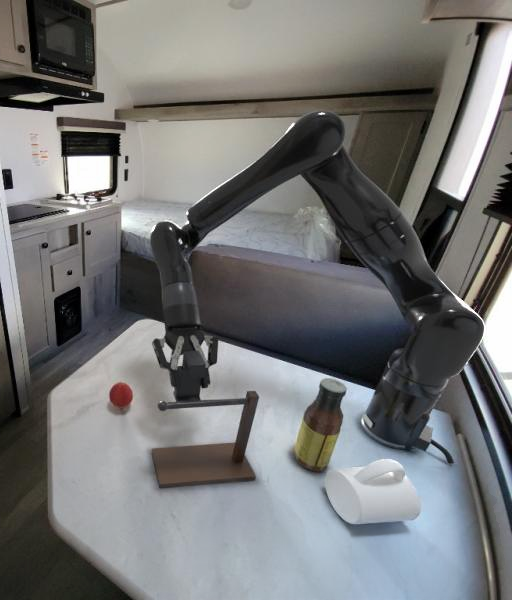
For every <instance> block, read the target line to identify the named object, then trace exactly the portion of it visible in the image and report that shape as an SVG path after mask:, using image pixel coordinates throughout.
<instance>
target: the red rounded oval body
mask: <svg viewBox="0 0 512 600" xmlns="http://www.w3.org/2000/svg"><path fill="white" fill-rule="evenodd" d="M108 395H109V396H108V397H109V398H108V399H109V401H110V402H111V404H112V405H113V406H115V407H116V408H119V409H122V408H126V407H128V406H130V405H131V403H132V401H133V399H134V393H133V389H132V388H131V386H130V385H129V384H127V383H126V382H124V381H123V380H122V381H119V382H116V383H114V385H112V387H111V388H110V390H109V394H108Z"/></svg>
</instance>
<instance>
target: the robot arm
mask: <svg viewBox="0 0 512 600" xmlns="http://www.w3.org/2000/svg"><path fill="white" fill-rule="evenodd" d="M346 132H347V130H346V124H345V122H344V120H343V119H342V118H341V116H340V115H339V114H337V113H335V112H333V111H331V110H323V109H322V110H315V111H311V112H307V113H306V114H304V115H302V116H300V117H299V118H297V119H296V120H295V121H294V122H292V124H291V125H290V126H289V127H288V129H287V130H286V132H285V134H283V135H282V136H281V137H280V138H279V139H278V140H277V141H276V142H275V143H274V144H273V145H272V146H271V147H270V148H269V149H268V150H267V151H266V152H264V153H263V154H262V155H261V156H260V157H259V158H257V159H256V160H255V161H253V162H252V163H251V164H250V165H249V166H247V167H246V168H244V169H243V170H241V171H240V172H238V173H237V174H235V175H234V176H232V177H230V179H228V180H226V181H225V182H223V183H222V184H220V185H219V186H217V187H216V188H214V189H213V190H211V191H210V192H209V193H208V194H206V195H205V196H203V197H202V198H200V199H199V200H198V201H197V202H195V203H194V204H193V205H191V206H190V207H189V208H188V210H187V212H186V219H187V222H186V223H185V224H184V225H183V226H182V227H181V226H179V225H178V224H176V223H175V222H173V221H170V220H160V221H159V222H158V223H156V224H155V225H154V226H153V228H152V230H151V231H150V236H149V237H150V238H149V240H150V241H149V243H150V249H151V252H152V255H153V258H154V261H155V264H156V267H157V269H158V271H159V280H160V286H161V308H162V315H163V321H164V322H163V324H164V331H165V333H164V335H163V337H160V338H157V337H156V338H154V339H153V340H152V341H151V345H152V346H151V347H152V348H153V352H154V354H155V357H156V360H157V363H158V366H159V368H160V369H164V370H167V371H168V373H169V382H170V386H171V388H173V390H174V391H175V390H180V382H179V374H178V370H177V366H178V365H179V360H180V358H181V356H183V353H184V351H199V352H200V354H201V356H202V358H203V360H204V362H205V363H206V368H205V375H204V378H202V382H201V389H208V388H209V385H211V376H210V369H209V368H210V367H212V366H214V365H216V364H217V363H218V354H219V353H218V352H219V339H220V338H219V336H218V335H213V336H212V335H206V334H205V332H204V330H203V329H202V322H201V321H202V320H201V315H200V309H199V303H198V302H199V301H198V295H197V292H196V289H195V285H194V284H195V283H194V278H193V271H192V268H191V265H190V263H189V262H188V261H187V260H186V259H185V256H188V255H189V254H190V253H192V252H193V251H194V249H196V248H197V247H198V246H199V245H200V243H201V242H203V241H204V239H205V238H206V237H207V236H208V235H209V234H210V233H212V232H213V231H215V230H216V229H218V228H219V227H220V226H222V225H223V224H225V223H227V222H228V221H230V220H231V219H232V218H233V217H235V216H237V215H238V214H240V212H242V211H244V210H245V209H246V208H247V207H249V206H250V205H252V204H253V203H254V202H256V201H257V200H259V199H260V198H262V197H263V196H264V195H266V194H268V193H270V192H271V191H273V190H274V189H276V188H277V187H279V186H281V185H282V184H284V183H286V182H288V181H290V180H292V179H295V178H296V177H298V176H301V178H303V179H304V180H305V182H306V183H307V184H308V186H310V187H311V189H313V191H314V192H315V193H316V195H317V197H318V198H319V199H320V201H321V203H322V205H323V207H324V209H325V210H326V212H327V214H328V216H329V218H330V219H331V221H332V223H333V224H334V226H335V228H336V229H337V232H338V233H339V234H340V236H341V237H342V239H343V240H344V241H345V243H346V245H347V246H348V247H349V249H350V250H351V252H353V253H354V255H355V256H356V258H357V259H358V261H360V263H362V265H364V267H365V268H366V269H367V270H368V271H369V272H370V273H371V274H373V276H375V277H376V278H377V279H378V280H379V281H380V282H381V283H382V284H383V285H384V286H385V288H386V289H387V291H388V292H389V294H390V295H391V296H392V298H393V300H394V302H395V305H396V306H397V307H398V309H399V311H400V313H401V316H402V318H403V321H404V322H405V324H406V326H407V328H408V329H409V331H410V332H411V333H410V335H409V338H408V340H407V342H406V343H405V346H404V347H403V348H398V349H395V350H394V351H393V352H392V353H391V355H390V357H389V359H388V362H387V364H386V366H385V368H384V371H383V372H382V375H381V377H380V379H379V382H378V383H377V385H376V388H375V390H374V392H373V395H372V397H371V399H370V401H369V403H368V405H367V408H366V410H365V412H363V415H362V417H361V419H360V425H361V428H362V429H363V431H364V432H365V433H366V434H367V435H368V436H369V437H371V438H372V439H373V440H374V441H377V442H378V443H380V444H381V445H384V446H386V447H390V448H392V449H398V450H404V451H406V452H409V453H410V452H412V450H413V449H414V448H416V449H418V450H420V451H423V452H427V450H428V448H429V447H430V446H431V445H432V446H433V447H434V448H436V449H437V450H439V451H440V452H441V453H442V454H443V455H444V457H445V459H446V462H447V464H449V465H453V464H455V461H454V458H453V456H452V455H451V453H450V452H449V450H447V449H446V448H445V447H444V446H443V445H441V444H439V443H438V442H437V441H436V440H435V439H433V438H432V437H433V430H434V428H433V427H431V426H429V425H428V423H429V421H430V418H431V413H432V411H433V409H434V408H435V406H436V404H437V402H438V400H439V399H440V397H441V396H442V394H443V392H444V390H445V388H446V387H447V385H448V383H449V382H450V380H451V379H452V378H454V377H455V376H457V375H459V374H460V373H461V372H462V371H463V370H464V368H465V367H466V366H467V364H468V362H469V361H470V359H471V358H472V356H473V355H474V354H475V353H476V351H477V349H478V348H479V346H480V344H481V343H482V341H483V338H484V335H485V332H486V325H485V323H484V320H483V319H482V318H481V316H480V315H479V314H478V313H477V312H475V310H473V309H472V308H471V307H470V306H469V305H468V304H467V303H466V302H464V301H463V300H462V299H461V298H459V297H458V296H457V295H456V294H455V293H454V292H453V291H451V290H450V288H449V287H447V285H446V284H445V283H444V282H443V280H441V278H439V276H438V275H437V274H436V273H435V271H434V270H433V269H432V268H431V266H430V264H429V262H428V259H427V257H426V254H425V251H424V248H423V246H422V243H421V241H420V238H419V236H418V234H417V232H416V231H415V229H414V227H413V225H412V224H411V222H410V221H409V220H408V219H407V217H406V216H405V214H404V213H403V212H402V210H401V209H400V208H399V206H398V205H397V204H396V203H395V202H394V201H393V199H391V198H390V197H389V196H388V195H387V194H386V193H385V192H384V191H383V190H382V189H381V188H380V187H379V186H378V185H376V183H374V182H373V181H371V180H370V178H368V177H367V176H366V175H365V174H364V173H363V172H361V170H360V169H359V168H358V166H357V165H356V164H355V162H354V161H353V159H352V158H351V156H350V154H349V152H348V151H347V148H345V145H344V142H345V138H346ZM204 342H205V346H207V357H206V356H205V352H204V350H203V348H202V345H203V343H204ZM165 344H166V345H167V346H168V348H169V349H170V350H171V353H170V357H169V362H168V361H167V358H166V355H165V352H164V350H163V349H164V348H165Z"/></svg>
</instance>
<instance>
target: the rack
mask: <svg viewBox="0 0 512 600" xmlns="http://www.w3.org/2000/svg"><path fill="white" fill-rule="evenodd" d="M257 392H258V391H256V390H246V394H245V397H231V398H229V397H228V398H214V399H201V400H196V401H180V402H176V401H165V400H161V401H159V402H158V403H157V409H158V410H159V411H160V412H166V411H167V410H178V409H179V410H181V409H193V408H194V409H195V408H211V407H224V406H226V407H227V406H239V405H240V406H241V405H243V406H242V410H241V411H242V412H241V416H240V420H239V424H238V429H237V433H236V437H235V442H221V443H210V444H209V443H208V444H206V443H205V444H195V445H193V444H192V445H180V446H168V447H167V446H166V447H153V448H151V455H152V461H153V465H154V470H155V474H156V479H157V483H158V487H159V489H163V488H175V487H186V486H188V487H189V486H200V485H212V484H225V483H237V482H238V483H240V482H251V481H256V478H257V476H256V473H255V471H254V470H253V467H252V466H251V464H250V462H249V460H248V458H247V455H246V452H247V448H248V444H249V440H250V435H251V432H252V427H253V423H254V419H255V416H256V412H257V408H258V404H259V400H260V395H259V394H258V393H257Z"/></svg>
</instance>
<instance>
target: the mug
mask: <svg viewBox="0 0 512 600" xmlns="http://www.w3.org/2000/svg"><path fill="white" fill-rule="evenodd" d="M324 487H325V491H326V495H327V497H328V500H329V502H330V504H331V506H332V507H333V509H334V510H335V512H336V513H337V515H338V516H339V517H340V518H341V519H342V520H343V521H345V522H346V523H348V524H351V525H364V524H365V525H366V524H378V523H379V524H380V523H392V522H394V523H395V522H405V521H406V522H408V521H414V520H416V519H418V518H419V516H420V514H421V511H422V503H421V499H420V495H419V494H418V491H417V489H416V487H415V486H414V484H413V482H412V481H411V480H410V479H409V478H408V477H407V475H406V470H405V468H404V466H403V465H402V464H401V463H400V462H398V461H397V460H394V459H391V458H381V459H377V460H375V461H373V462H370V463H369V464H366V466H354V467H352V466H351V467H339V468H338V467H337V468H335V467H334V468H331V469H329V470H328V471H327V472H326V474H325V478H324Z"/></svg>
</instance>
